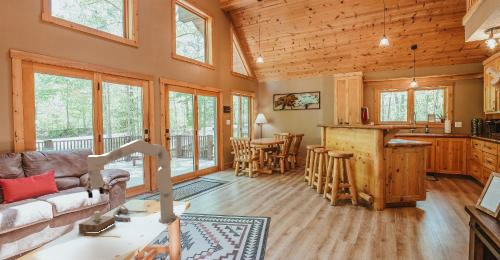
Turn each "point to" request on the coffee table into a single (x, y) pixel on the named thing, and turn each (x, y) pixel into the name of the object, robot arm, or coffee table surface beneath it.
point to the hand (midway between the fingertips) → (96, 195)
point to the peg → (97, 216)
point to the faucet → (124, 211)
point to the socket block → (96, 224)
